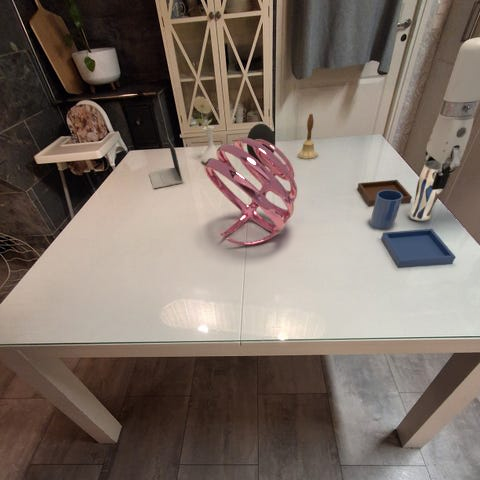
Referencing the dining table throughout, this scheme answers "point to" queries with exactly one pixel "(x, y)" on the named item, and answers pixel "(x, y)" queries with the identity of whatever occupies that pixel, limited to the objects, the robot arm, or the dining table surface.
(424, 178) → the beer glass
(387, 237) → the blue tray
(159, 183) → the laptop
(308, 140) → the hand bell
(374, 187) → the walnut tray
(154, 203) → the dining table surface
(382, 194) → the blue cup
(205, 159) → the flower in vase
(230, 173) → the spiral basket
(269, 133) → the decorative egg
